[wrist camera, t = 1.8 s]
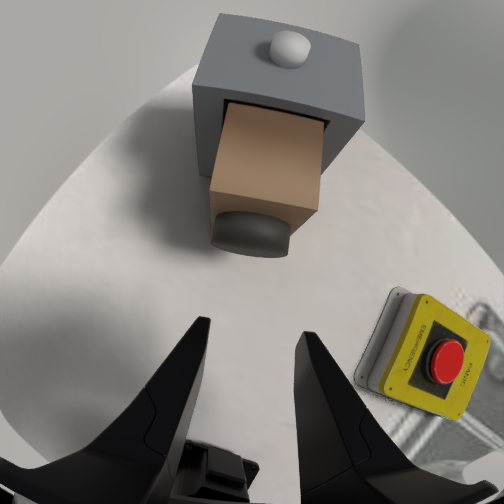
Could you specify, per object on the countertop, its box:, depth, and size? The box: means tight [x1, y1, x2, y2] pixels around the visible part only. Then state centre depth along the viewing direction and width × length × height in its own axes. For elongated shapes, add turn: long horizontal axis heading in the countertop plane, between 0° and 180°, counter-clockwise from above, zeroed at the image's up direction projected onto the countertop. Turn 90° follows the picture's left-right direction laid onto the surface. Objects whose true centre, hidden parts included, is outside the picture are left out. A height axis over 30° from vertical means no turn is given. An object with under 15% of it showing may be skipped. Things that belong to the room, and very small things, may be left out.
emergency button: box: [354, 287, 491, 420], centre depth 23 cm, size 9×4×15 cm
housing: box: [192, 13, 365, 177], centre depth 19 cm, size 6×9×13 cm
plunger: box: [209, 103, 324, 258], centre depth 19 cm, size 6×5×10 cm
